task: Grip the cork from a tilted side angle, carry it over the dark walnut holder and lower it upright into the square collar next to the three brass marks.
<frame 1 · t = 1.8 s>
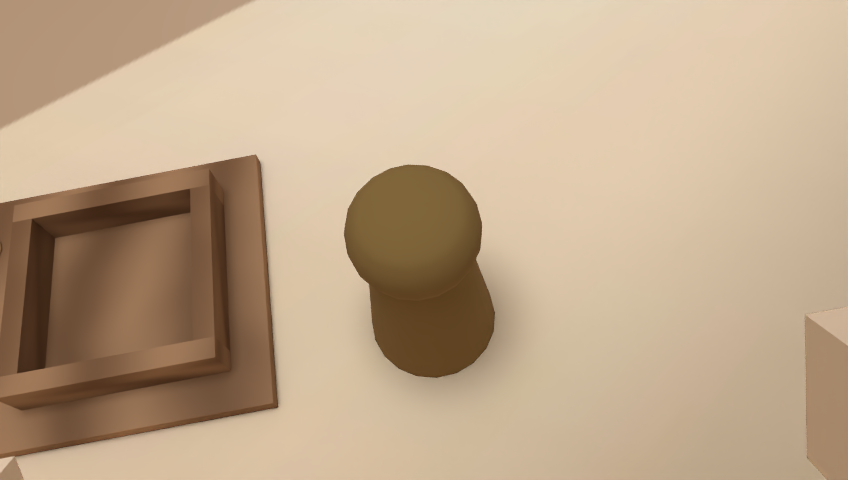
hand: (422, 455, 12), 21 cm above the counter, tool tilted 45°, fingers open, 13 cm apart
cork: (433, 318, 36), on the counter
walnut holder: (97, 306, 38), on the counter
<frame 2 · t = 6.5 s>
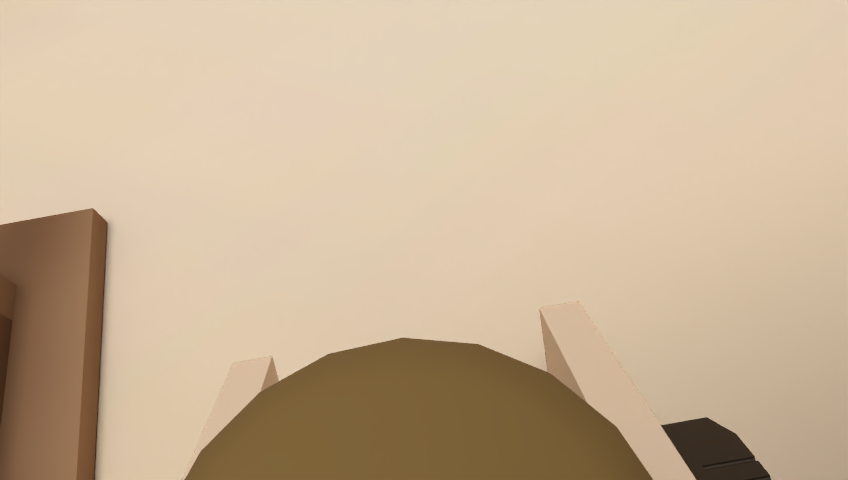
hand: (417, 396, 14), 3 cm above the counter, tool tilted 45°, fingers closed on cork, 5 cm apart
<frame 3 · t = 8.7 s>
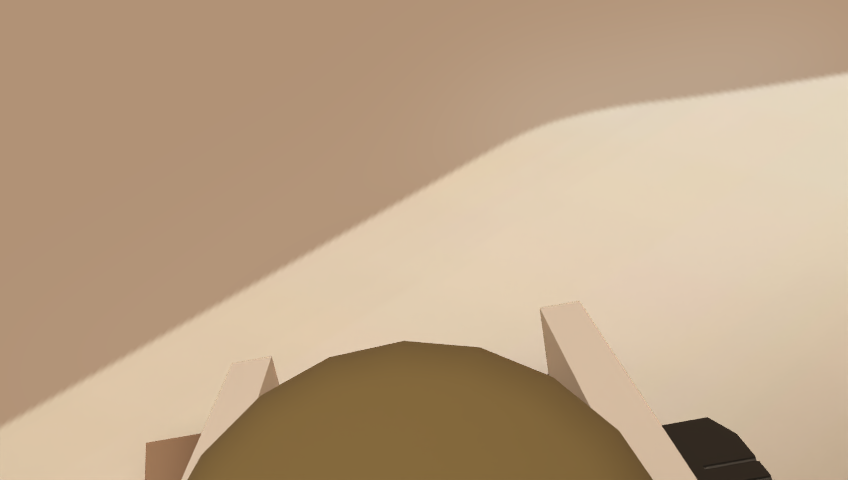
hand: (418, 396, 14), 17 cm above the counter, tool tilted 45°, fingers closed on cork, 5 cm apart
when the fingers open (5 cm above the counter, at t = 11.0 s): cork moves 1 cm, resting on walnut holder.
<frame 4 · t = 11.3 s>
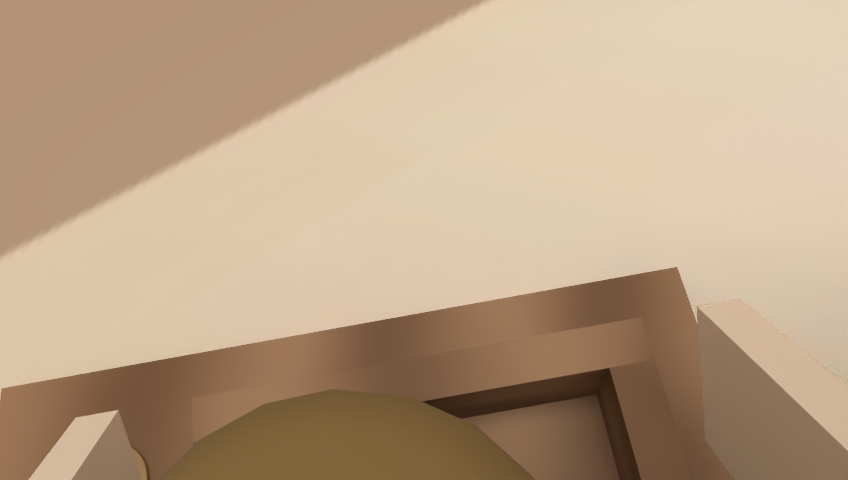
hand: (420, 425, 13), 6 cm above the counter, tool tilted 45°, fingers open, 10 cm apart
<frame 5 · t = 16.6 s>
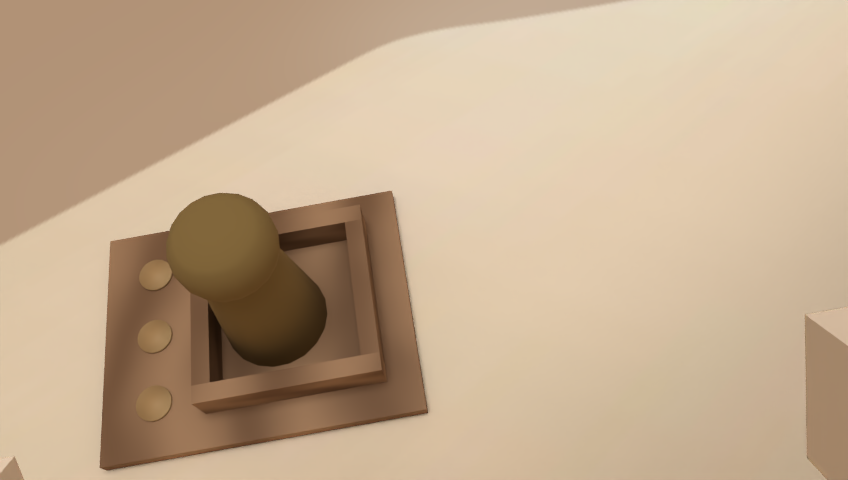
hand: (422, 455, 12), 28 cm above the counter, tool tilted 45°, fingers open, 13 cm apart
cork: (277, 318, 43), point 1 cm above the counter, touching walnut holder
walnut holder: (260, 323, 44), on the counter
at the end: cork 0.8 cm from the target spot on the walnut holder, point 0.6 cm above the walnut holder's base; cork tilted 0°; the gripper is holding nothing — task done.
